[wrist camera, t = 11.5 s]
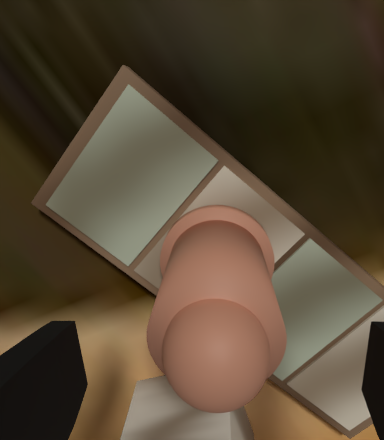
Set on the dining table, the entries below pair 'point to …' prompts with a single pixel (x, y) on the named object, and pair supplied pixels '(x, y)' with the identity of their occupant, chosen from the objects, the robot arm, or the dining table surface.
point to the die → (178, 417)
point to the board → (215, 195)
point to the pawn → (216, 309)
